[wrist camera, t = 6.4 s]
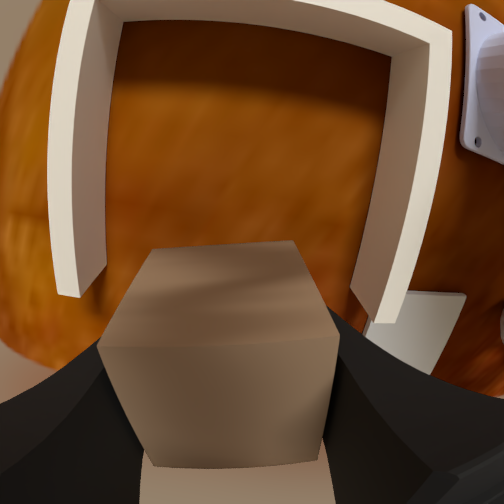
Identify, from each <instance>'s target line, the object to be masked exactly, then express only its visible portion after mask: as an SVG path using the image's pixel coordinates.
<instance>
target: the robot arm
mask: <svg viewBox="0 0 504 504" xmlns="http://www.w3.org/2000/svg"><path fill="white" fill-rule="evenodd" d="M480 17H481V18H480ZM465 22H466V69H465V88H464V101H463V111H462V120H461V129H460V143H461V145H462V146H463V147H464V148H465V149H468V150H470V151H473V152H475V153H478V154H480V155H482V156H485V157H487V158H489V159H491V160H494V161H496V162H498V163H500V164H502V165H504V25H503V24H502V23H500V22H499V21H497V20H496V19H495V18H493V17H492V16H490V15H489V14H487V13H486V12H485V11H483V10H482V9H480V8H478V7H477V6H475V5H473V4H469V5H466V7H465ZM475 138H476V141H477V143H476V145H475ZM326 307H327V306H326ZM327 309H328V311H329V313H330V315H331V317H332V320H333V322H334V324H335V326H336V328H337V330H338V332H339V334H340V339H339V346H338V353H337V360H336V366H335V373H334V379H333V385H332V390H331V396H330V402H329V407H328V412H327V417H326V422H325V427H324V432H323V437H322V438H323V442H324V445H325V449H326V453H327V458H328V463H329V468H330V473H331V478H332V484H333V489H334V496H335V501H336V504H504V399H501V398H496V397H491V396H487V395H483V394H480V393H476V392H473V391H470V390H466V389H463V388H461V387H458V386H455V385H452V384H450V383H447V382H445V381H442V380H440V379H438V378H435V377H433V376H430V375H428V374H426V373H424V372H422V371H420V370H418V369H416V368H414V367H412V366H411V365H409V364H407V363H405V362H403V361H401V360H399V359H398V358H396V357H394V356H393V355H391V354H390V353H388V352H387V351H385V350H384V349H382V348H381V347H379V346H378V345H376V344H375V343H373V342H372V341H370V340H369V339H368V338H366V337H365V336H363V335H362V334H361V333H359V332H358V331H357V330H356V329H354V328H353V327H352V326H350V325H349V324H348V323H347V322H345V321H344V320H343V319H342V318H341V317H339V316H338V315H337V314H336V313H335V312H333V311H332V310H331V309H330V308H329V307H327ZM101 337H102V336H101ZM101 337H100V338H99V339H98V340H97V341H96V342H94V343H93V344H92V345H91V346H90V347H88V348H87V349H86V350H85V351H83V352H82V353H81V354H80V355H78V356H77V357H76V358H75V359H73V360H72V361H71V362H69V363H68V364H67V365H66V366H64V367H63V368H62V369H60V370H59V371H57V372H56V373H54V374H53V375H52V376H50V377H48V378H47V379H45V380H44V381H42V382H41V383H39V384H37V385H36V386H34V387H33V388H30V389H28V390H27V391H25V392H23V393H21V394H19V395H17V396H15V397H13V398H12V399H10V400H8V401H5V402H3V403H1V404H0V504H139V497H140V496H139V495H140V479H141V468H142V458H143V453H144V448H143V446H142V445H141V443H140V441H139V439H138V437H137V435H136V433H135V431H134V429H133V428H132V426H131V424H130V422H129V420H128V418H127V416H126V414H125V411H124V409H123V407H122V405H121V403H120V401H119V399H118V397H117V394H116V392H115V390H114V388H113V385H112V383H111V381H110V379H109V376H108V374H107V371H106V369H105V367H104V364H103V362H102V359H101V357H100V354H99V351H98V349H97V344H98V342H99V340H100V339H101Z"/></svg>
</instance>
